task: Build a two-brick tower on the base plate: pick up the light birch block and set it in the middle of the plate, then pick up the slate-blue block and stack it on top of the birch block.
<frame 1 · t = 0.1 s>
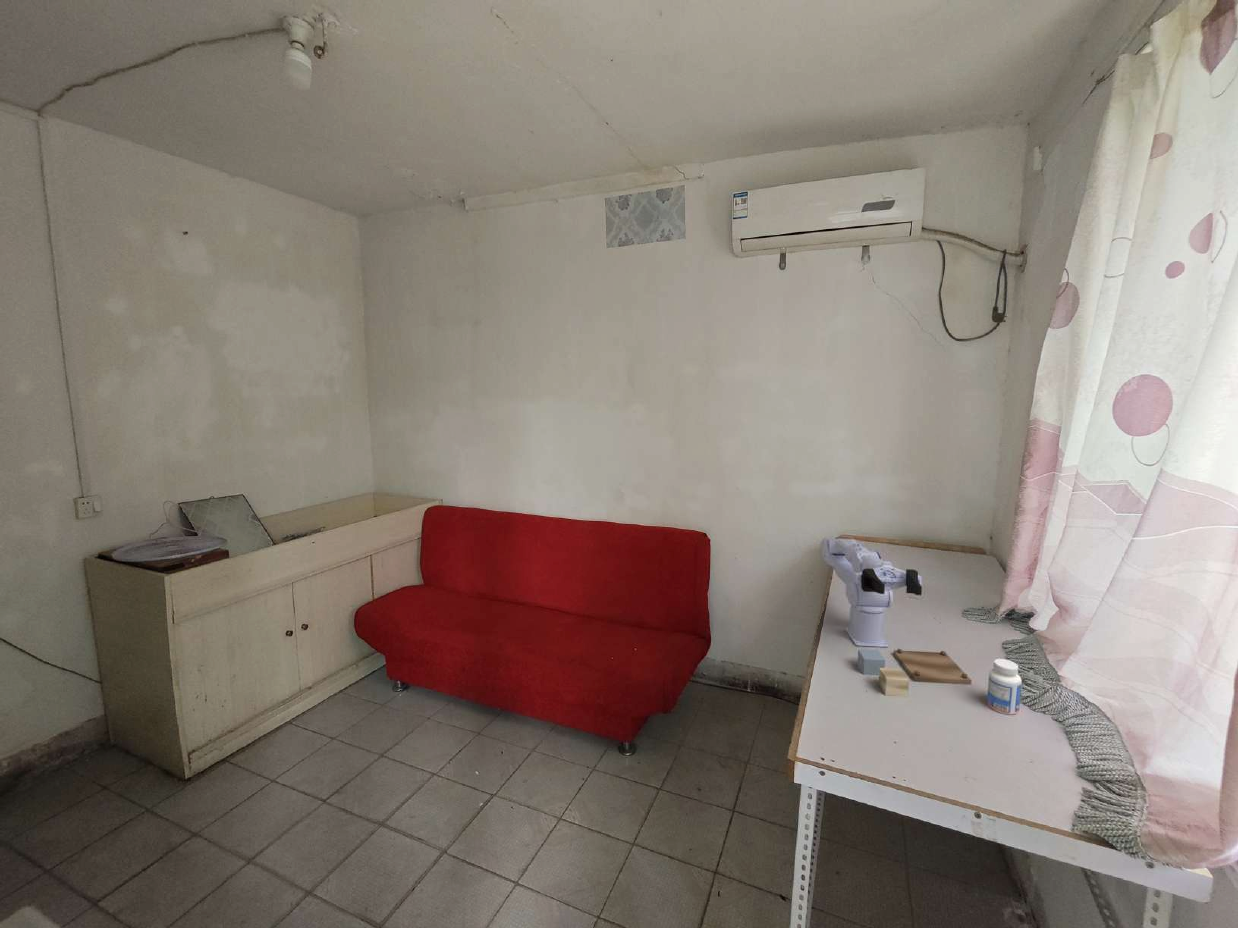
hand: (901, 590, 114), 22 cm above the table, tool horizontal, fingers open, 7 cm apart
birch block: (892, 690, 113), on the table
base plate: (930, 668, 121), on the table
slate block: (870, 670, 121), on the table
pill bottle: (1002, 707, 107), on the table
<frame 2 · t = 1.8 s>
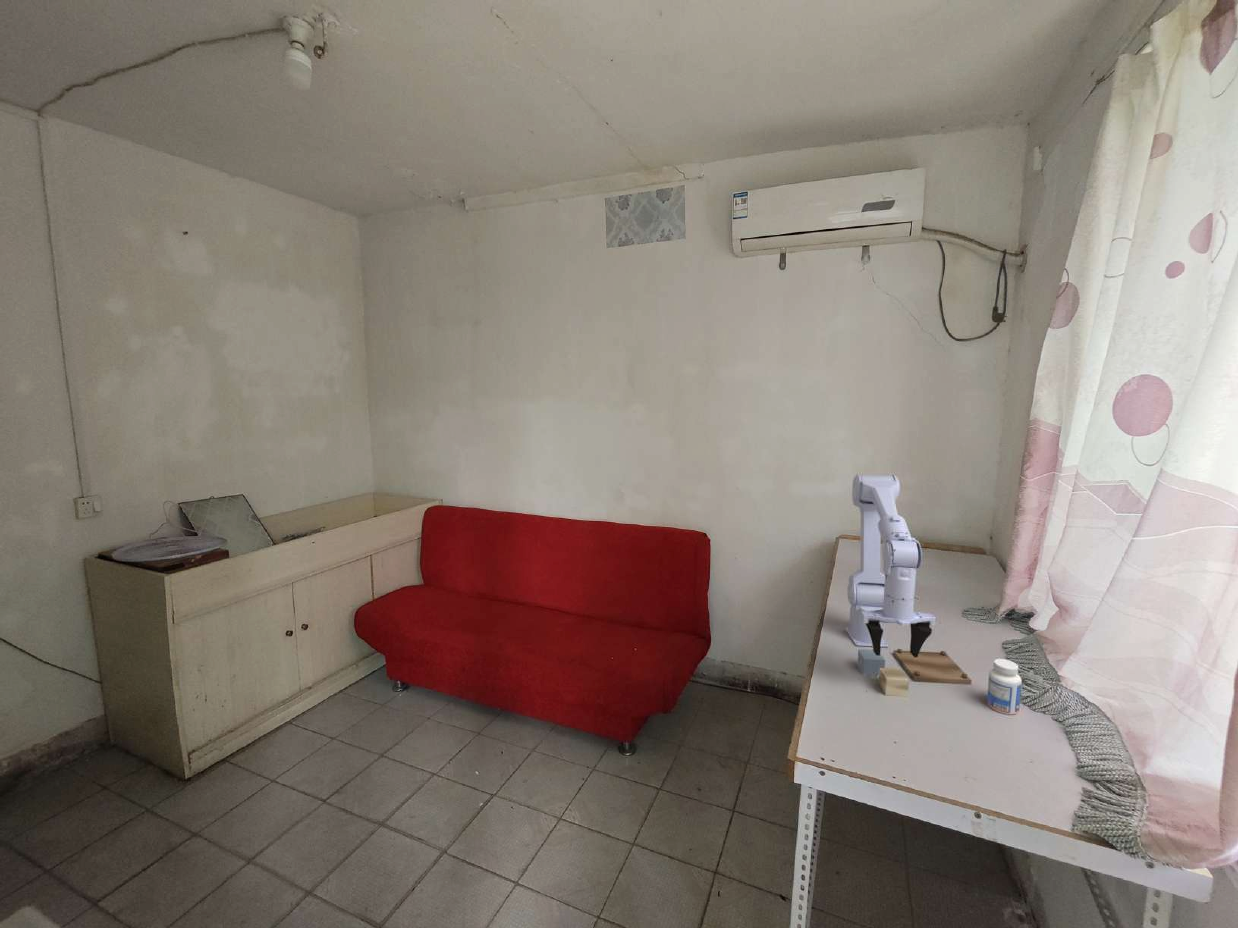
hand: (895, 654, 112), 9 cm above the table, tool pointing down, fingers open, 7 cm apart
nothing on the table moved.
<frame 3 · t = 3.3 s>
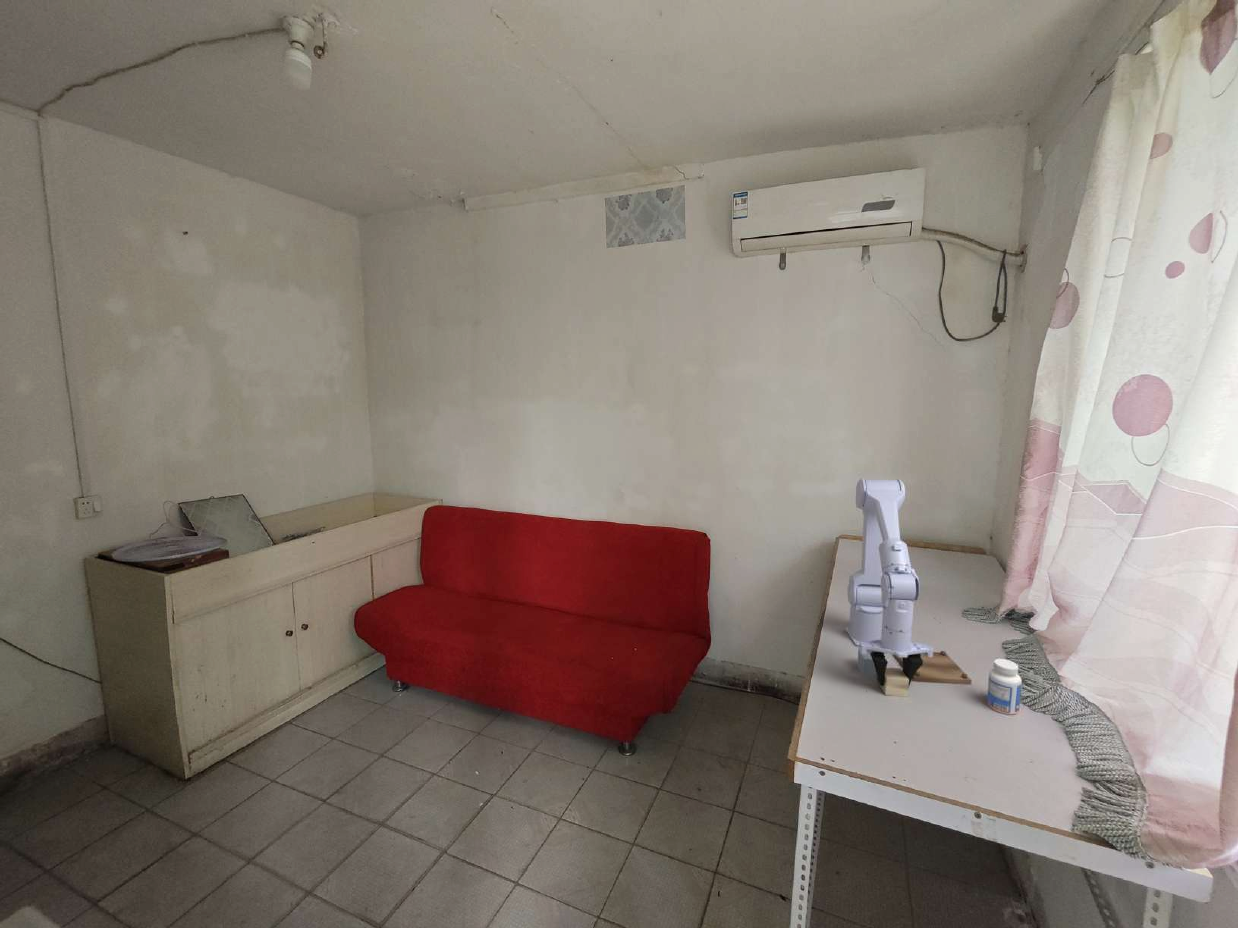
hand: (893, 684, 113), 1 cm above the table, tool pointing down, fingers closed on birch block, 4 cm apart
birch block: (892, 689, 113), on the table, touching gripper
everything else where it was.
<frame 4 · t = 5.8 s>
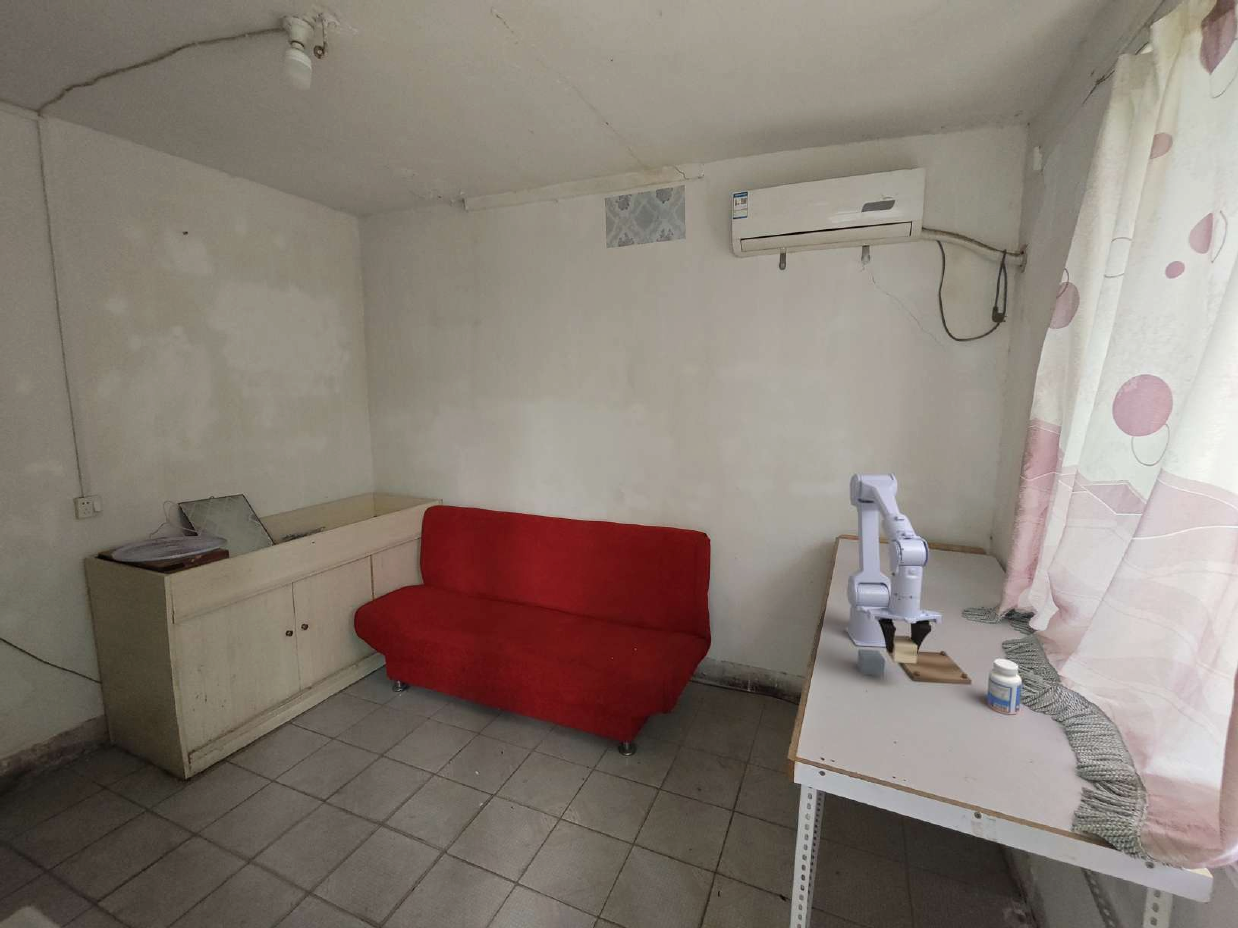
hand: (901, 651, 113), 8 cm above the table, tool pointing down, fingers closed on birch block, 4 cm apart
birch block: (900, 657, 114), point 7 cm above the table, touching gripper
everything else where it was.
when the fingers open (4 cm above the table, at t = 8.4 s): birch block drops 1 cm, resting on base plate.
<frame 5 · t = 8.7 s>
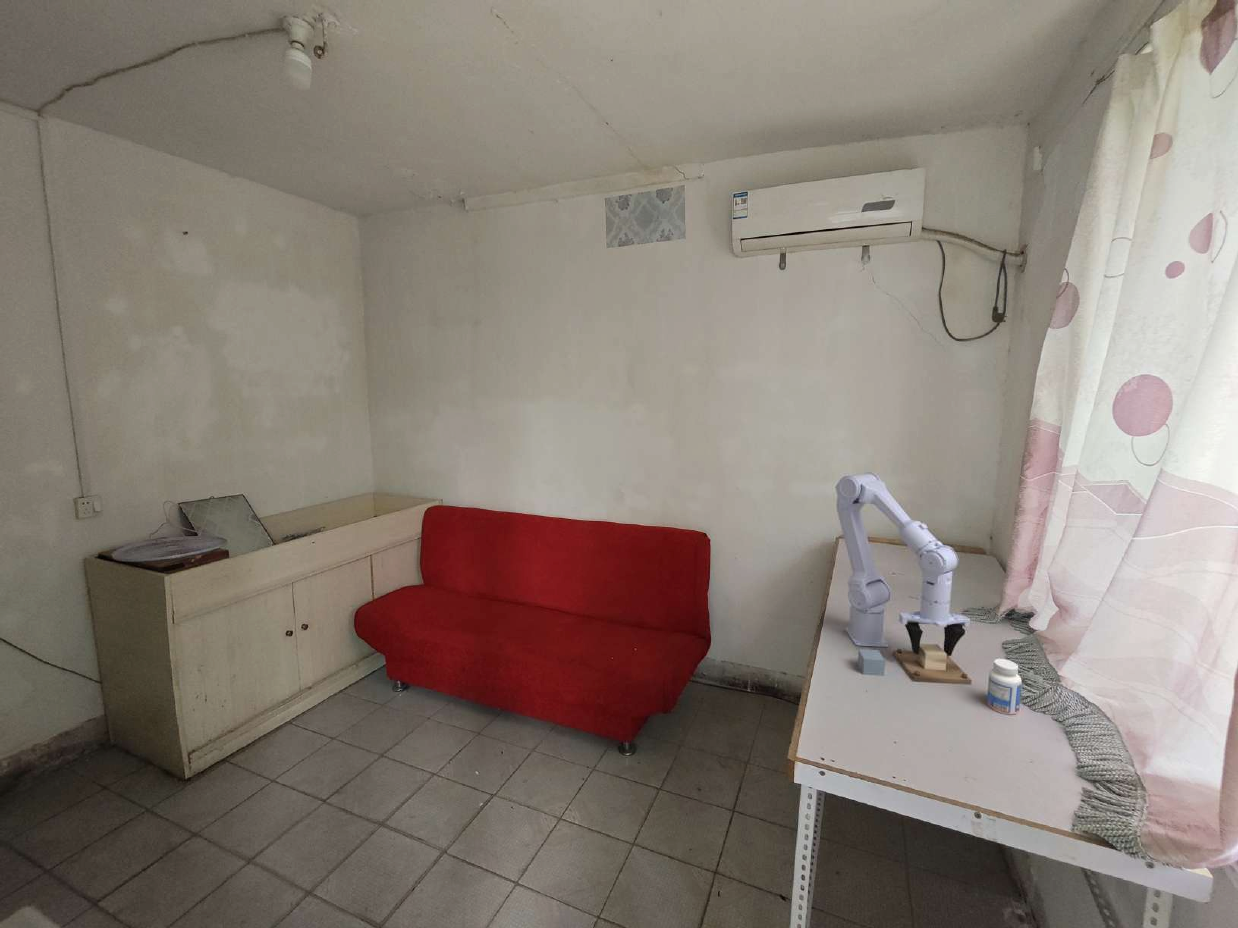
hand: (931, 652, 121), 4 cm above the table, tool pointing down, fingers open, 6 cm apart
birch block: (930, 664, 121), point 1 cm above the table, touching base plate
everything else where it was.
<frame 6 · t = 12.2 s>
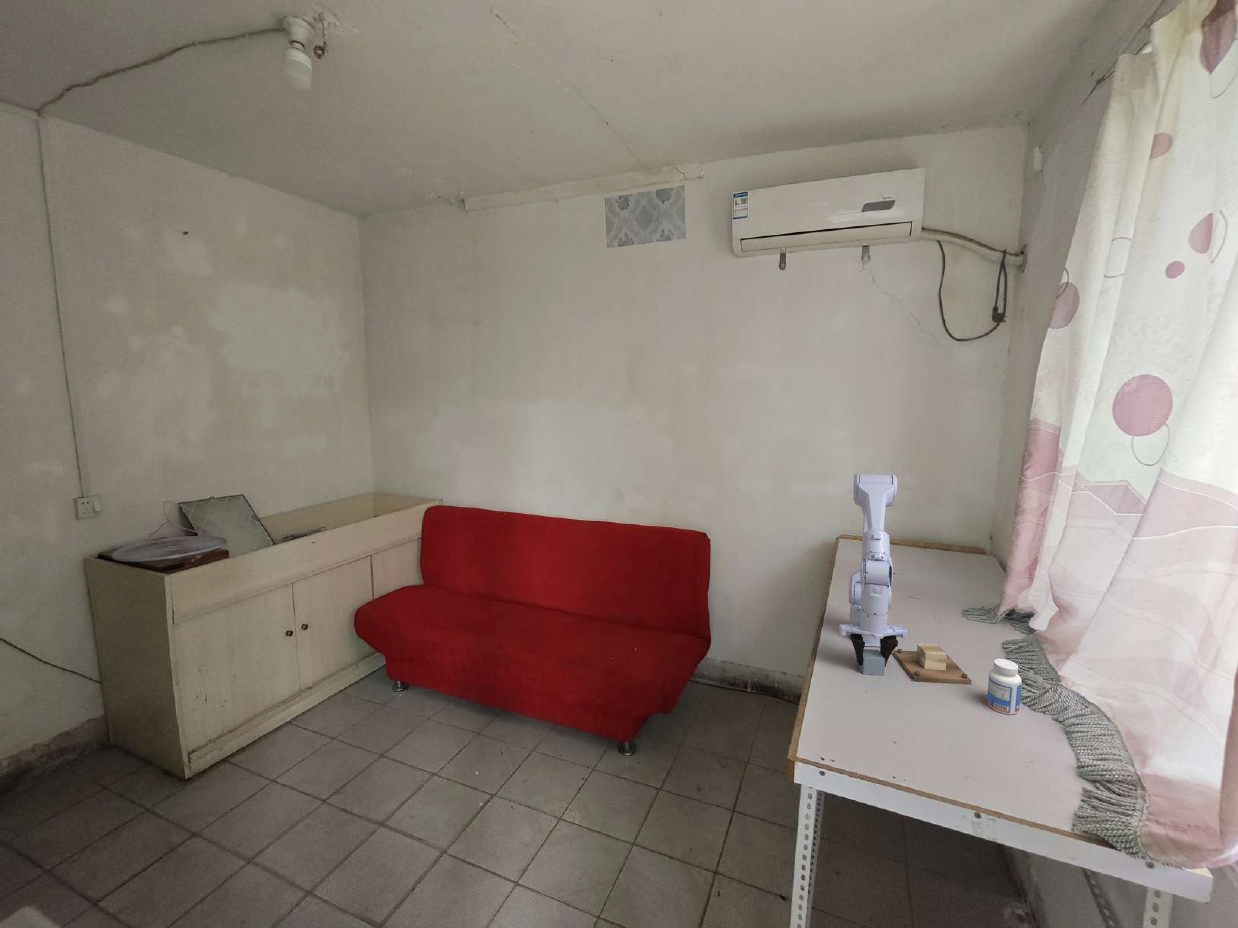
hand: (870, 664, 121), 1 cm above the table, tool pointing down, fingers closed on slate block, 4 cm apart
slate block: (870, 669, 121), on the table, touching gripper
everything else where it was.
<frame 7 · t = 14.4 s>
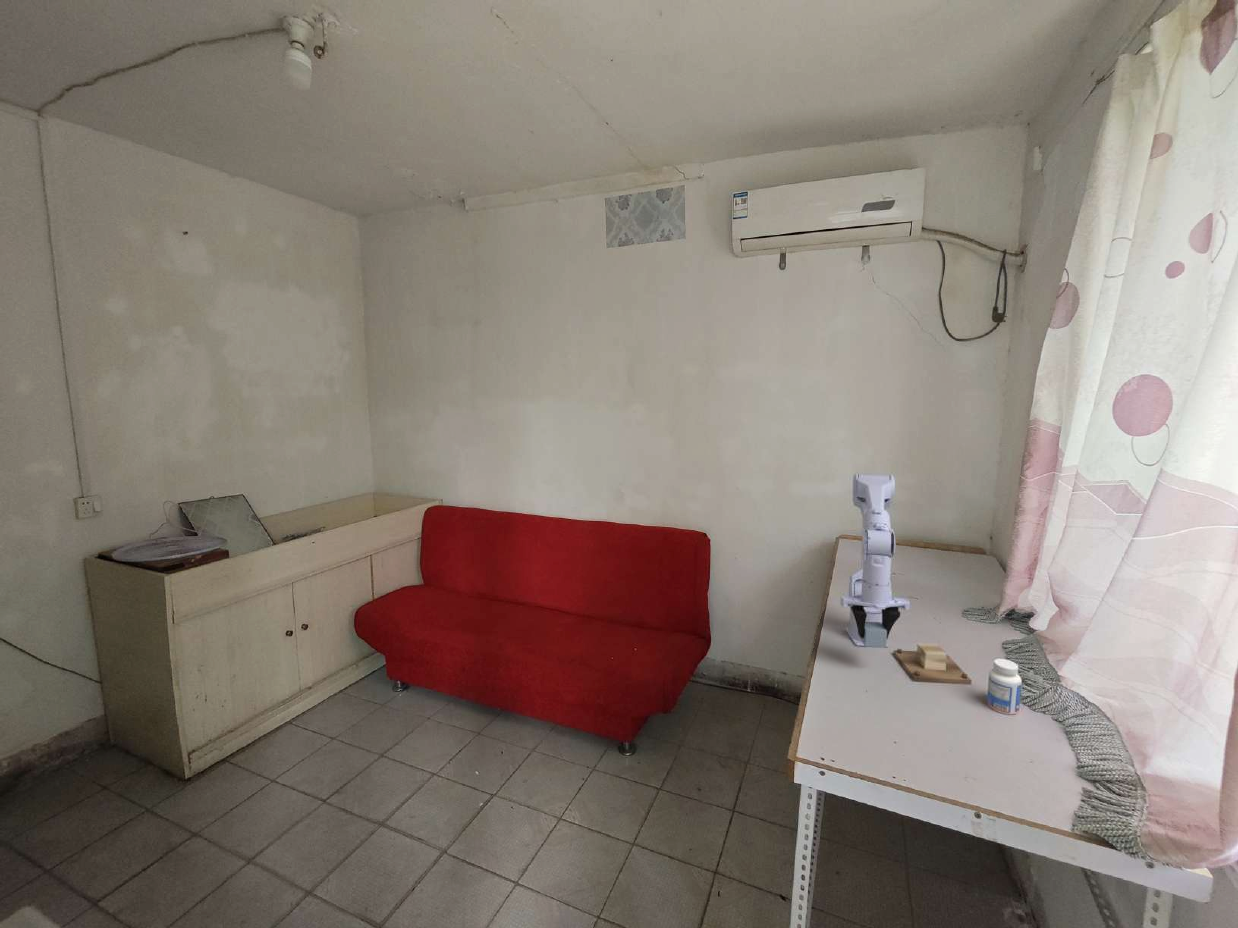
hand: (872, 636, 120), 8 cm above the table, tool pointing down, fingers closed on slate block, 4 cm apart
slate block: (872, 642, 120), point 7 cm above the table, touching gripper
everything else where it was.
when the fingers open (8 cm above the table, at t = 16.6 s): slate block drops 1 cm, resting on birch block.
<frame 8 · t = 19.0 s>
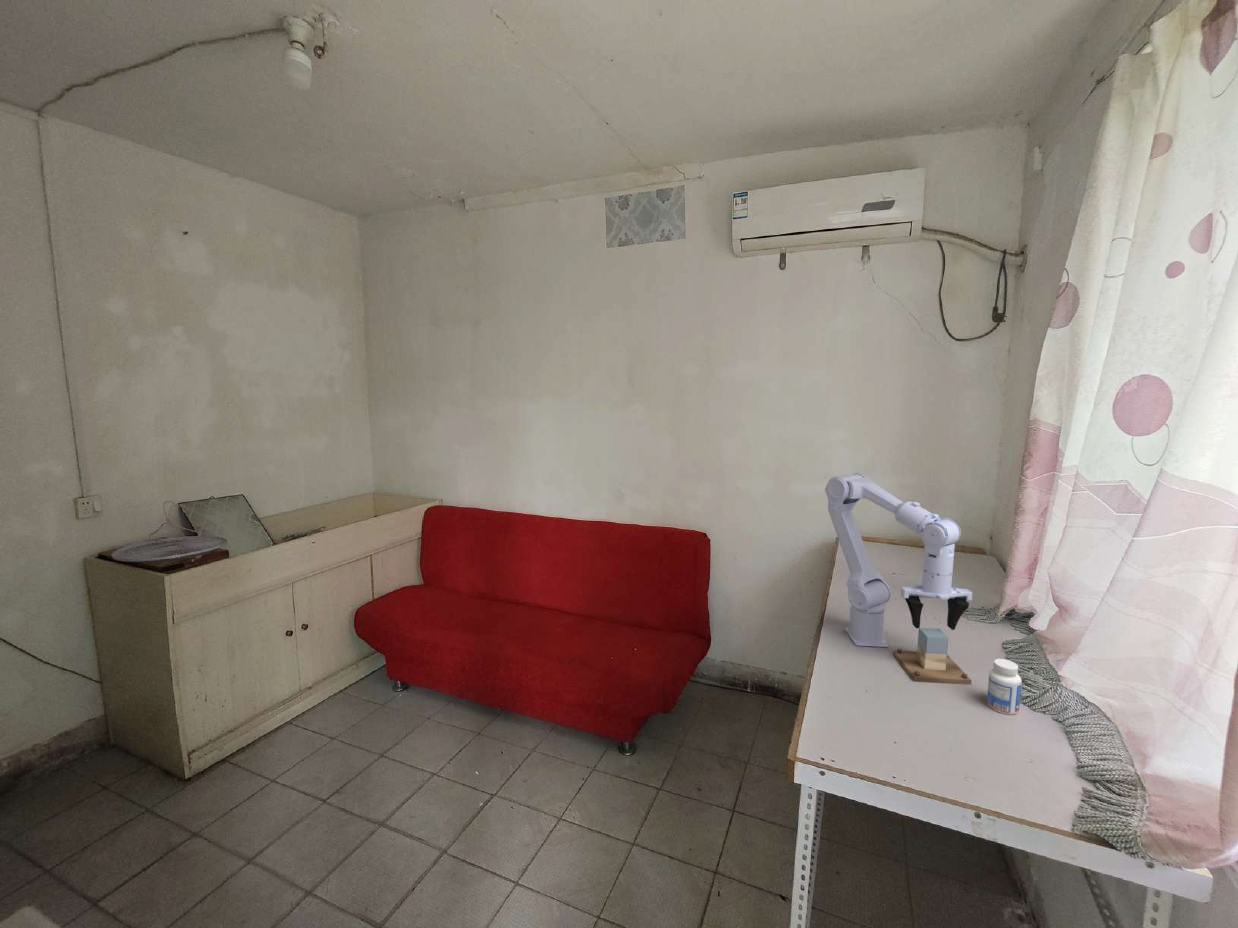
hand: (933, 627, 120), 10 cm above the table, tool pointing down, fingers open, 7 cm apart
birch block: (930, 664, 121), point 1 cm above the table, touching base plate, slate block
slate block: (932, 648, 121), point 5 cm above the table, touching birch block
everything else where it was.
at the end: birch block inside the target area on the base plate (0.0 cm from its centre), point 1.0 cm above the base plate's base; slate block 0.1 cm off-centre on the birch block, point 4.0 cm above the birch block's base; slate block tilted 0° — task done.
